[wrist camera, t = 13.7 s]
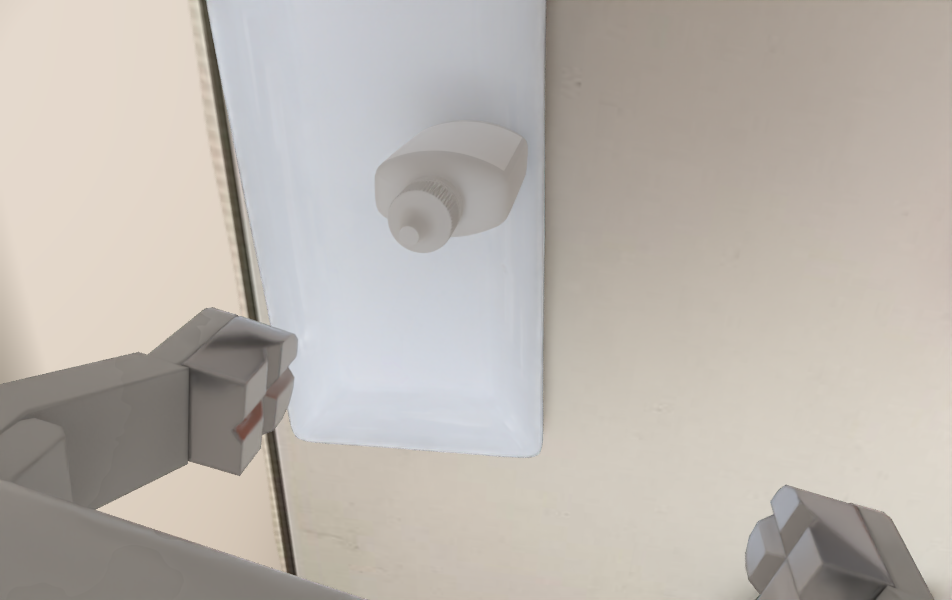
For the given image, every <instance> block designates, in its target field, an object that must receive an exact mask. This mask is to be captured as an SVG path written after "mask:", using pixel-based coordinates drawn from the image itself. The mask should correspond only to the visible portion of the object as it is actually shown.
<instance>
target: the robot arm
mask: <svg viewBox="0 0 952 600" xmlns="http://www.w3.org/2000/svg"><path fill="white" fill-rule="evenodd" d="M297 349H298V338H297V337H296V335H295V334H294V333H291V332H288V331H285V330H281V329H278V328H275V327H272V326H269V325H266V324H263V323H260V322H257V321H254V320H251V319H248V318H245V317H242V316H238V315H236V314H232V313H229V312H226V311H222V310H219V309H216V308H206V309H204V310H202V311H201V312H200V313H199V314H197V315H196V316H195V317H194V318H192V319H191V320H190V321H189V322H188V323H186V324H185V325H184V326H182V327H181V328H180V329H179V330H177V331H176V332H175V333H174V334H173V335H171V336H170V337H169V338H167V339H166V340H165V341H164V342H163V343H161V344H160V345H159V346H158V347H156V348H155V349H154V350H153V351H152V352H150V353H149V354H148V355H146V354H143V353H140V352H137V353H132V354H128V355H124V356H119V357H116V358H111V359H106V360H102V361H98V362H94V363H89V364H85V365H81V366H77V367H72V368H68V369H64V370H59V371H55V372H51V373H46V374H42V375H38V376H34V377H29V378H25V379H21V380H16V381H12V382H8V383H3V384H0V600H368V599H365V598H361V597H358V596H355V595H352V594H349V593H346V592H343V591H340V590H337V589H334V588H331V587H328V586H325V585H322V584H319V583H316V582H313V581H310V580H307V579H304V578H301V577H298V576H295V575H292V574H289V573H286V572H282V571H279V570H276V569H273V568H270V567H267V566H264V565H261V564H258V563H255V562H252V561H249V560H246V559H243V558H240V557H237V556H234V555H231V554H228V553H225V552H222V551H219V550H216V549H213V548H210V547H206V546H203V545H200V544H197V543H194V542H191V541H188V540H185V539H182V538H179V537H176V536H173V535H170V534H167V533H164V532H161V531H158V530H155V529H152V528H149V527H146V526H143V525H140V524H137V523H133V522H131V521H127V520H124V519H121V518H118V517H115V516H112V515H109V514H106V513H103V512H100V511H97V510H96V509H98V508H100V507H102V506H104V505H106V504H108V503H110V502H112V501H114V500H116V499H118V498H120V497H122V496H124V495H126V494H128V493H130V492H132V491H134V490H136V489H138V488H140V487H142V486H144V485H146V484H148V483H150V482H152V481H154V480H156V479H158V478H160V477H162V476H164V475H166V474H168V473H170V472H172V471H174V470H176V469H178V468H181V467H182V466H185V465H187V464H188V461H190V462H193V463H197V464H200V465H204V466H208V467H211V468H214V469H218V470H221V471H224V472H228V473H231V474H235V475H239V476H240V475H241V474H242V472H243V471H244V469H245V468H246V467H247V466H248V464H249V463H250V462H251V460H252V459H253V458H254V456H255V455H256V454H257V453H258V451H259V450H260V449H261V441H262V435H263V434H266V433H268V432H271V431H274V430H275V428H276V427H277V425H278V424H279V423H280V421H281V420H282V418H283V416H284V414H285V412H286V410H287V407H288V405H289V403H290V400H291V396H292V392H293V386H294V376H293V374H292V372H291V370H290V369H289V365H290V364H291V363H292V362H293V360H294V359H295V358H296V357H297ZM771 506H772V510H773V513H774V514H773V515H771V516H769V517H767V518H764V519H762V520H760V521H758V522H757V524H756V525H755V527H754V529H753V531H752V532H751V534H750V536H749V540H748V544H747V548H746V552H745V562H746V571H747V575H748V580H749V581H750V583H751V584H752V585H753V586H754V587H755V589H756V590H757V591H758V592H759V594H760V595H761V596H760V597H759V599H758V600H934V598H933V596H932V594H931V593H930V591H929V589H928V587H927V585H926V583H925V581H924V579H923V577H922V576H921V574H920V572H919V570H918V568H917V566H916V564H915V562H914V560H913V558H912V557H911V555H910V553H909V551H908V549H907V547H906V545H905V543H904V541H903V540H902V538H901V536H900V534H899V532H898V530H897V528H896V526H895V524H894V523H893V521H892V519H891V518H890V517H889V516H888V515H886V514H885V513H884V512H882V511H878V510H875V509H871V508H868V507H864V506H860V505H857V504H853V503H846V502H843V501H839V500H836V499H833V498H829V497H826V496H822V495H819V494H816V493H812V492H809V491H806V490H802V489H799V488H796V487H792V486H789V485H785V486H783V487H782V488H780V489H779V490H778V491H777V492H776V494H775V495H774V497H773V499H772V500H771Z"/></svg>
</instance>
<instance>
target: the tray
mask: <svg viewBox="0 0 952 600" xmlns="http://www.w3.org/2000/svg"><path fill="white" fill-rule="evenodd" d="M206 3H207V9H208V14H209V20H210V25H211V30H212V35H213V41H214V46H215V51H216V56H217V61H218V67H219V72H220V77H221V82H222V87H223V92H224V97H225V102H226V107H227V112H228V117H229V122H230V128H231V133H232V138H233V143H234V148H235V153H236V158H237V163H238V168H239V173H240V178H241V183H242V188H243V193H244V198H245V203H246V208H247V213H248V217H249V222H250V227H251V232H252V237H253V242H254V247H255V251H256V256H257V261H258V266H259V270H260V275H261V280H262V285H263V290H264V295H265V300H266V305H267V310H268V315H269V320H270V324H271V326H272V327H275V328H278V329H281V330H285V331H288V332H291V333H294V334H295V335H296V337H297V338H298V349H297V357H296V358H295V359H294V360H293V362H292V363H291V364H290V365H289V369H290V370H291V372H292V374H293V376H294V386H293V392H292V396H291V400H290V403H289V405H288V407H287V410H288V416H289V420H290V424H291V427H292V431H293V433H294V434H295V436H296V437H297V438H299V439H301V440H304V441H308V442H315V443H325V444H341V445H356V446H370V447H384V448H398V449H410V450H422V451H434V452H448V453H462V454H474V455H486V456H498V457H516V458H529V457H534V456H537V455H538V454H539V453H540V452H541V449H542V443H543V351H544V256H545V55H546V0H206ZM457 120H477V121H484V122H489V123H493V124H497V125H500V126H503V127H505V128H508V129H510V130H512V131H514V132H516V133H518V134H520V135H521V136H522V137H523V138H524V139H525V140H526V141H527V145H528V156H527V170H526V175H525V178H524V180H523V183H522V185H521V188H520V190H519V192H518V195H517V197H516V200H515V202H514V204H513V207H512V209H511V211H510V213H509V215H508V217H507V219H506V220H505V221H504V222H503V223H502V224H501V225H499V226H497V227H495V228H492V229H490V230H487V231H484V232H481V233H477V234H472V235H468V236H461V237H450V239H449V240H448V242H447V243H446V244H445V245H443V247H441V248H440V249H438V250H435V251H434V252H433V251H432V252H431V253H430V252H428V253H417V252H413V251H410V250H408V249H407V248H404V247H403V246H402V245H401V244H399V242H397V241H396V240H395V239H394V237H393V235H392V234H391V231H390V228H389V227H388V226H389V225H388V219H387V218H385V217H384V216H383V215H382V214H381V213H380V212H379V211H378V209H377V206H376V200H375V174H376V171H377V168H378V167H379V166H380V165H381V164H382V163H383V162H384V161H385V160H386V159H387V158H388V157H389V156H391V155H392V154H393V153H394V152H396V151H397V150H398V149H399V148H400V147H402V146H403V145H404V144H405V143H407V142H408V141H409V140H410V139H412V138H413V137H414V136H416V135H417V134H418V133H419V132H421V131H422V130H424V129H426V128H428V127H431V126H434V125H437V124H440V123H445V122H450V121H457Z"/></svg>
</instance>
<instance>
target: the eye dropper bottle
mask: <svg viewBox="0 0 952 600" xmlns="http://www.w3.org/2000/svg"><path fill="white" fill-rule="evenodd" d="M527 156H528V145H527V141H526V140H525V139H524V138H523V137H522V136H521V135H520V134H518V133H516V132H514V131H512V130H510V129H508V128H505V127H503V126H500V125H497V124H493V123H489V122H484V121H477V120H457V121H450V122H445V123H440V124H437V125H434V126H431V127H428V128H426V129H424V130H422V131H421V132H419V133H418V134H417V135H416V136H414V137H413V138H412V139H410V140H409V141H408V142H407V143H405V144H404V145H403V146H402V147H400V148H399V149H398V150H397V151H396V152H394V153H393V154H392V155H391V156H389V157H388V158H387V159H386V160H385V161H384V162H383V163H382V164H381V165H380V166H379V167H378V168H377V171H376V174H375V200H376V206H377V209H378V211H379V212H380V213H381V214H382V215H383V216H384V217H385V218H387V219H388V225H389V226H388V227H389V228H390V231H391V234H392V235H393V237H394V239H395V240H396V241H397V242H399V244H401V245H402V246H403V247H404V248H407V249H408V250H410V251H413V252H417V253H428V252H430V253H431V252H432V251H433V252H434V251H435V250H438V249H440V248H441V247H443V245H445V244H446V243H447V242H448V240H449V239H450V237H461V236H468V235H472V234H477V233H481V232H484V231H487V230H490V229H492V228H495V227H497V226H499V225H501V224H502V223H503V222H504V221H505V220H506V219H507V217H508V215H509V213H510V211H511V209H512V207H513V204H514V202H515V200H516V197H517V195H518V192H519V190H520V188H521V185H522V183H523V180H524V178H525V175H526V170H527Z"/></svg>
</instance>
